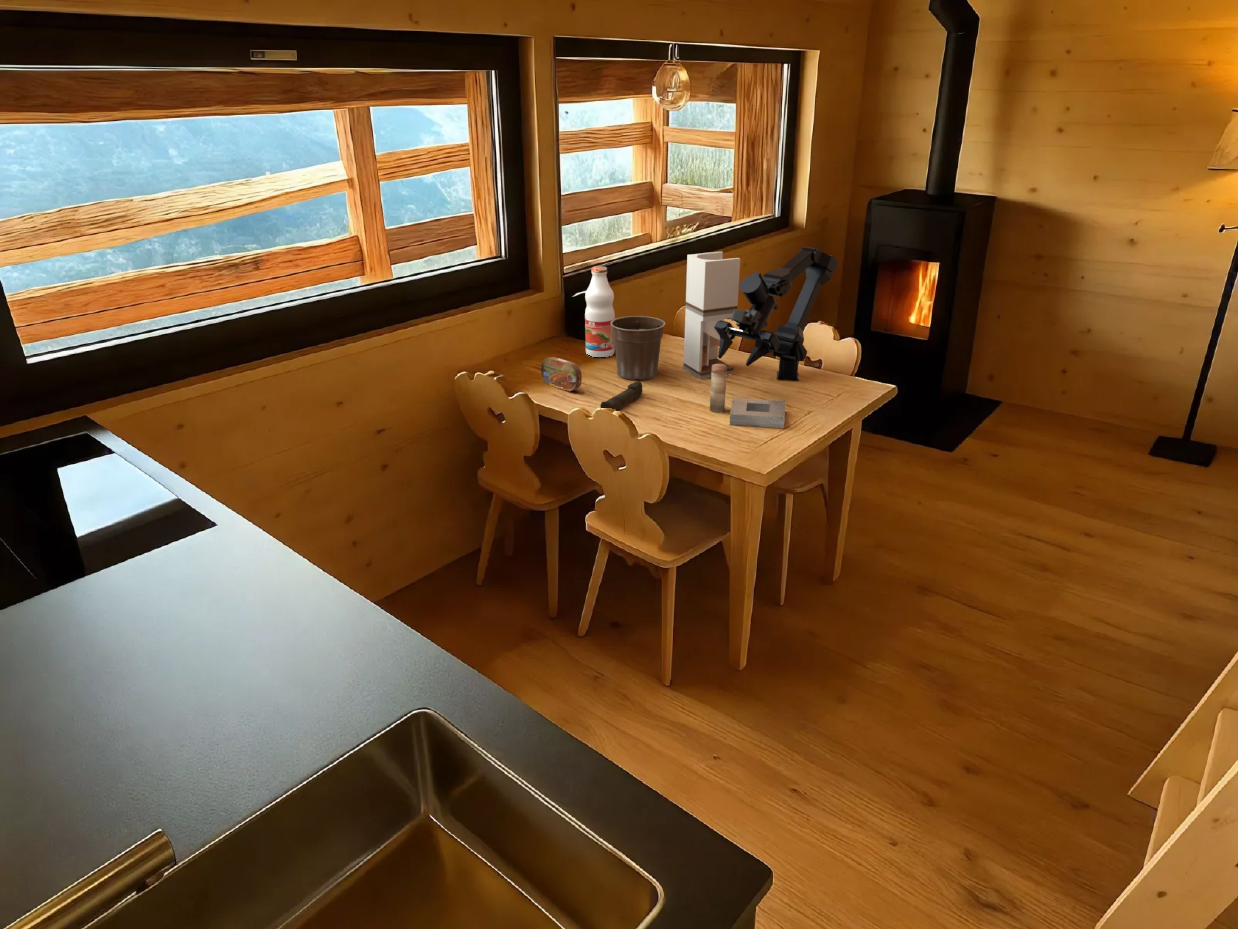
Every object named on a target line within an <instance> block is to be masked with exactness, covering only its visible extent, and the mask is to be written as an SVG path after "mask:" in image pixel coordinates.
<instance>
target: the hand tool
mask: <svg viewBox="0 0 1238 929" xmlns="http://www.w3.org/2000/svg"><path fill="white" fill-rule="evenodd" d="M642 394H643V383H642V381H641V380H638V381H634V382H632V383H630V384H628V386H627V388H626V389H625V390H623V391H621V392H620V393H618V394H616V395H615V396H612V397H611V398H609V399H608V400H605V401H601V403H600V406H599V408H600V409H601V408H612V409H617V410H618V409H620V408H622V407H624V406H625V405H627V404H628V403H630V402H631V401H634V402H635V401H637V400H639V398H640V397H641V396H642Z"/></svg>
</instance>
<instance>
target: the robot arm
mask: <svg viewBox="0 0 1238 929" xmlns="http://www.w3.org/2000/svg"><path fill="white" fill-rule="evenodd" d="M838 263H839V262H838V261H837V259H836V257H835V256H834V255H831V254H827V253H825V252H823V251H822V250H820V249H818V248H815V247H809V246H804V247H801V248H800V250H799V252H798V253H797V254H796V255H794V256H793V257H792V258H790V260H789V261H787V262H786V263H785V264H784V265H782V266H781V267H779V268H776V269H771V270H770V271H767V272H766V273H764V274H763V275H762V273H761V272H756V271H754V272H753V273H752V275H749V276H747V277H745V278H744V279H742V281H741V282H740V283H739V285H740V286H739V287H740V290H741V292H742V294H743V295H744V297H745V298H746V300H747V301H748V303H750V304H751V306H750V307H749V309H745V310H742V309H738V308H737V309H734V310H733V314H732V317H731V318H730V321H732V322H736V323H735V325H736V326H737V327H738V328H735V327H734V325H733V324H732V323H731V322H729V321H726V320H724V321H721V320H720V321H718V322H717V323H716V325H715V326H714V328H715V330H716V331H717V333H718V334H719V335H720V345H718V356H717V359H719V360H720V359H722V357H723V356H725V354H726V353H727V351H728V350H729V348H730V347H731V346H732V345H733V343H734V342H733V340H734V339H736V337H737V338H738V337H739V338H742V339H747V340H751V341H755V343H754V346H753V348H752V351H751V352H750V354H749V356H748V358H747V360H746V362H745V365H746V366H747V367H749V366H751V365H752V364H754V363H755V362H756V361H758V360H759V359H761V358H762V357H764V356H766V355H767V354H772V355H773V357H777V358H779V361H778V362H779V363H778V371H776V380H777V381H778V380H779V381H794V382H798V381H800V374H799V365H800V363H799V362H804V361H805V359H806V358H807V356H808V351H807V349H806V347H805V345H804V343H805V342H804V341H805V336H804V328H805V325H806V324H807V321H808V319H809V316H810V314H811V311H812V309H813V307H814V305H815V302H816V299H817V298H818V296H819V293H820V291H821V288H822V287H823V285H825V284H826V283H827V282H829V281H831V279H832V277H833V275H834V273H835V272H836V271H837V269H838ZM803 273H805V278H806V279H805V281H804V282H803V286H802V289H801V290H800V293H799V296H798V298H797V299H796V302H795V304H794V306H793V309H792V312H790V316H789V318H788V321H787V323H785V324H784V325H781V324H780V325H779V326H778V327H777V329H776V332H773V331H770V330H765V329H764V328H767V326H768V324H769V323H768V322H767V321H768V319H769V317H771V316H770V315H771V314H772V312H773V310H775V311H778V310H779V305H778V303H777V302H778V301H777V299H776V298H774V296H776V297H780V298H783V297H785V295H786V294H787V293H788V292H789V291H790V290H791V289H792V283H793V281H795V280H796V279H797V278H798V277H799V276H800V275H801V274H803Z"/></svg>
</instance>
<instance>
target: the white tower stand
mask: <svg viewBox="0 0 1238 929" xmlns="http://www.w3.org/2000/svg"><path fill="white" fill-rule="evenodd" d="M723 253H724V251H713V252H712V251H711V252H703V253H695V254H694V253H693V254H692V253H691V254H687V257H686V259H687V261H686V285H685V286H686V288H685V313H684V315H685V320H684V340H683V341H684V347H683V348H684V349H683V370H684V371H686V372H688V373H689V374H690V375H692V376H694V377H696V378H697V379H699V380H706V379H711V373H712V365H714V364H724V365H726V366H727V373H726V376H730V375H729V374H732V375H734V369H735V368H734V367H733V366H731V365H729V363H726V362H724V361H723V360H720V359H719V358H718V353H719V346H720V335H719V334H718V333H717V331H716V330H715V328H714V326H715V325H716V323H717V322H718V321H720V320H721V321H725V319H731V317H732V314H733V310H734V309H738V302H739V301H738V300H739V287H740V286H739V285H740V268H741V267H740V266H741V258H739V257H733V258H723V256H724V254H723Z"/></svg>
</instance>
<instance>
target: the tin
mask: <svg viewBox="0 0 1238 929" xmlns="http://www.w3.org/2000/svg"><path fill="white" fill-rule="evenodd" d="M540 372H541V377H542V379H543V381H544V382H545V384H547V385H548V384H554V385H555V386H558V387H563V389H566V390H567V391H566V392H568V391H569V392H572V391H574V390H577V389H579V388H580V387H581V385H582V381H583V380H582V379H583V377H582V371H581V369H580V367H579V365H577V363H575V362H573V361H569V360H565V359H562V358H559V357H555V356H554V357H552V356H551V357H546V358H545V359H543V361H542V363H541V365H540Z"/></svg>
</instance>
